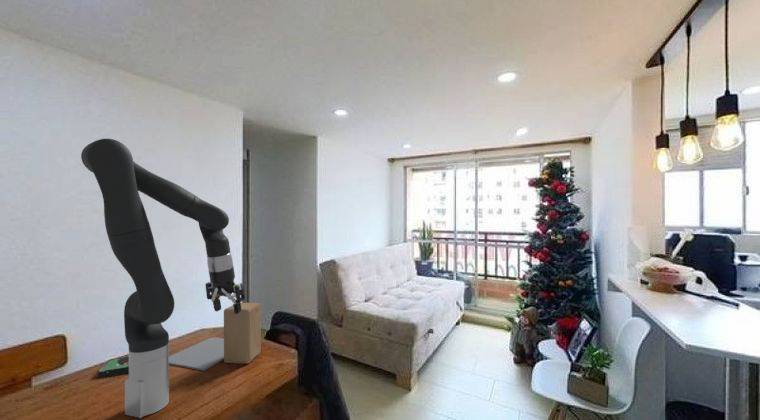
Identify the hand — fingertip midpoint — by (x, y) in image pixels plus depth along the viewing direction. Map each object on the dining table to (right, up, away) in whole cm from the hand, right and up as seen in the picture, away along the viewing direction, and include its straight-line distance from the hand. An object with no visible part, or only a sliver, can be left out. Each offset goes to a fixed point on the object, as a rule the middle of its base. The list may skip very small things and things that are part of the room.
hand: (228, 311), depth 108 cm
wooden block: (0, -22, +11) cm, 24 cm away
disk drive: (-39, -23, +5) cm, 45 cm away
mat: (-16, -22, +17) cm, 32 cm away
